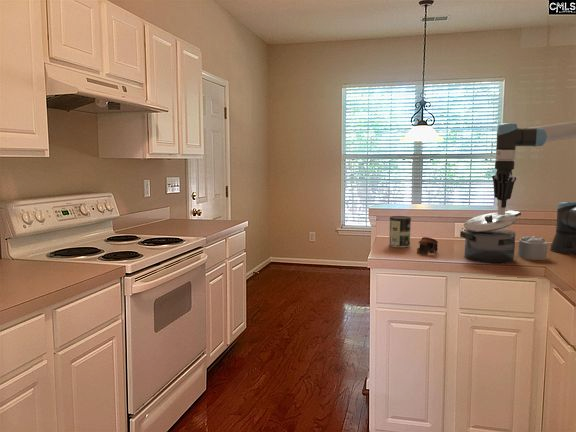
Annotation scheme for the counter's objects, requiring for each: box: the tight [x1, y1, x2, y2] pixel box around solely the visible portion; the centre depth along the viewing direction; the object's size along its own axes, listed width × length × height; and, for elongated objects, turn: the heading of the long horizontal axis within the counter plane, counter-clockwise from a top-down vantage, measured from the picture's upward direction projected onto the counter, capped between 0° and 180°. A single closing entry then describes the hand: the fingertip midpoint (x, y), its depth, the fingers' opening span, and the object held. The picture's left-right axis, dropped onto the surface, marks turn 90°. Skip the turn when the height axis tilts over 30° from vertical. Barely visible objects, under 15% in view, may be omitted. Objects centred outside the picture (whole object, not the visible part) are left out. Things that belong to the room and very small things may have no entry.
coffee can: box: [388, 215, 412, 248], centre depth 237 cm, size 10×10×14 cm
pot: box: [459, 228, 516, 265], centre depth 210 cm, size 22×25×12 cm
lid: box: [463, 209, 522, 232], centre depth 208 cm, size 24×21×3 cm
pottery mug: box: [416, 236, 439, 255], centre depth 221 cm, size 12×10×8 cm
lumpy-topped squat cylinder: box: [517, 235, 548, 261], centre depth 214 cm, size 10×13×9 cm
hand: (501, 214), depth 209 cm, fingers closed
